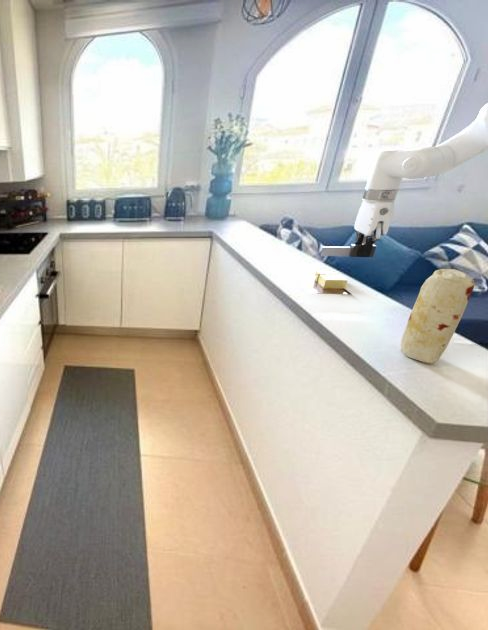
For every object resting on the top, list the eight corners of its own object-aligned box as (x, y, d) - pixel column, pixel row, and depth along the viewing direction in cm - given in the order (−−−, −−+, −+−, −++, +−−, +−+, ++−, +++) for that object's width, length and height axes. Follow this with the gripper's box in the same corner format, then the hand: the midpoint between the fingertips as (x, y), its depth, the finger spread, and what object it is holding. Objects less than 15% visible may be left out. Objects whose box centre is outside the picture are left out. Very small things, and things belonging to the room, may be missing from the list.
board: (335, 281, 120) (336, 276, 120) (357, 298, 106) (359, 294, 106) (290, 280, 124) (291, 276, 123) (306, 297, 110) (307, 293, 109)
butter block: (338, 283, 115) (340, 274, 113) (345, 288, 110) (347, 280, 109) (317, 282, 116) (319, 274, 115) (323, 288, 112) (326, 279, 110)
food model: (449, 369, 73) (493, 281, 65) (410, 365, 75) (447, 279, 67) (423, 345, 81) (459, 265, 73) (388, 343, 84) (419, 264, 75)
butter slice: (334, 280, 117) (336, 271, 116) (336, 282, 116) (339, 273, 114) (314, 279, 119) (316, 271, 118) (316, 281, 117) (318, 273, 116)
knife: (321, 256, 111) (324, 246, 110) (319, 254, 113) (322, 244, 112) (372, 257, 108) (376, 245, 106) (369, 255, 110) (372, 244, 108)
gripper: (411, 198, 94) (388, 263, 102) (379, 191, 107) (361, 248, 115) (379, 199, 95) (359, 263, 103) (351, 192, 109) (335, 248, 117)
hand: (360, 255), depth 109 cm, fingers closed on knife, 2 cm apart
